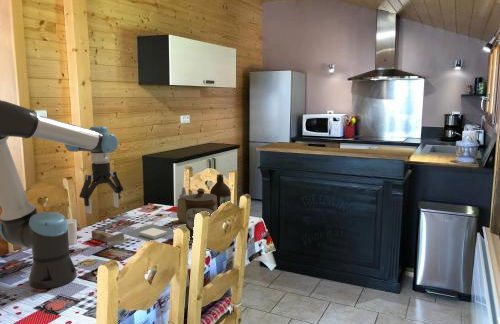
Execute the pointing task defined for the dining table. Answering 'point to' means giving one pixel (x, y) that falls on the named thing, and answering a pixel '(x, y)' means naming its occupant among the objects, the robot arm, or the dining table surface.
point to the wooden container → (199, 206)
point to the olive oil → (221, 191)
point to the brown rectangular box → (108, 238)
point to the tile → (153, 233)
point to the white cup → (72, 231)
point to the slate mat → (136, 232)
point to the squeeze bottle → (182, 206)
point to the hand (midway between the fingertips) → (103, 210)
